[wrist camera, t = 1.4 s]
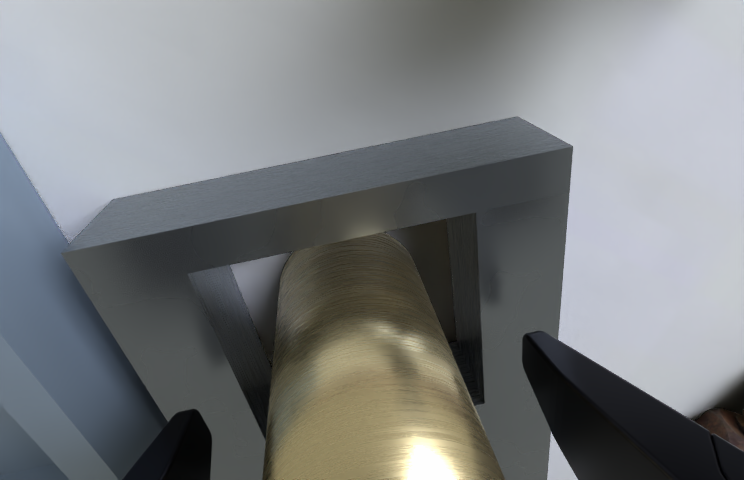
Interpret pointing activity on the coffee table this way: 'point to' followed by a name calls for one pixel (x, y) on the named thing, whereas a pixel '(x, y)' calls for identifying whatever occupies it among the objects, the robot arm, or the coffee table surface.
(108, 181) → the coffee table surface
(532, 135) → the block
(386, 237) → the pin
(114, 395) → the tray
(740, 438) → the bolt
